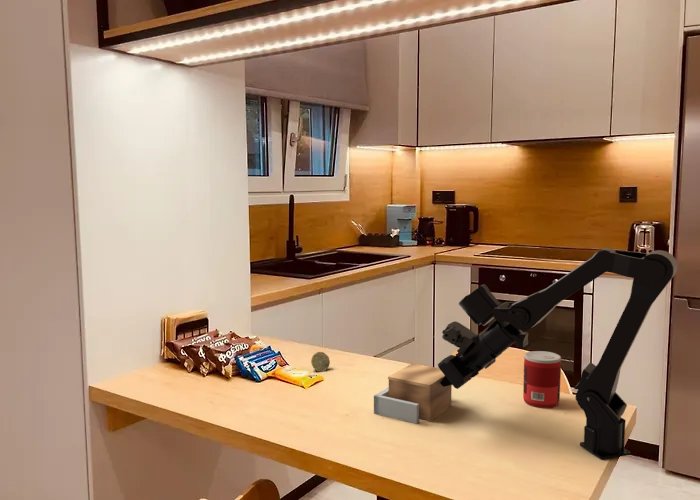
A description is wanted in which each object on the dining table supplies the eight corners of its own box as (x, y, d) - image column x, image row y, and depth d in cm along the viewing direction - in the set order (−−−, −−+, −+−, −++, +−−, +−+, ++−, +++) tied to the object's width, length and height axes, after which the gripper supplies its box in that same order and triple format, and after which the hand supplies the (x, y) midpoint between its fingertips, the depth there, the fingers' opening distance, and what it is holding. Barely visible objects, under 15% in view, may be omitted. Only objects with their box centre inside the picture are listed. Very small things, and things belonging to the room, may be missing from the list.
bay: (448, 400, 140) (448, 383, 140) (416, 423, 127) (416, 405, 126) (408, 391, 146) (408, 375, 145) (373, 413, 133) (373, 395, 132)
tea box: (451, 405, 137) (452, 370, 136) (429, 422, 128) (430, 385, 127) (411, 397, 143) (412, 363, 142) (388, 412, 133) (388, 376, 132)
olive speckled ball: (331, 369, 164) (331, 351, 163) (321, 374, 160) (321, 355, 159) (318, 366, 166) (317, 348, 165) (307, 371, 162) (307, 353, 161)
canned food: (566, 406, 136) (567, 359, 134) (533, 409, 134) (535, 361, 133) (548, 395, 143) (549, 349, 142) (517, 397, 141) (518, 352, 140)
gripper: (483, 304, 134) (437, 345, 142) (447, 320, 119) (398, 365, 126) (517, 343, 131) (468, 383, 138) (485, 366, 115) (432, 409, 123)
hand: (442, 384), depth 132 cm, fingers closed
